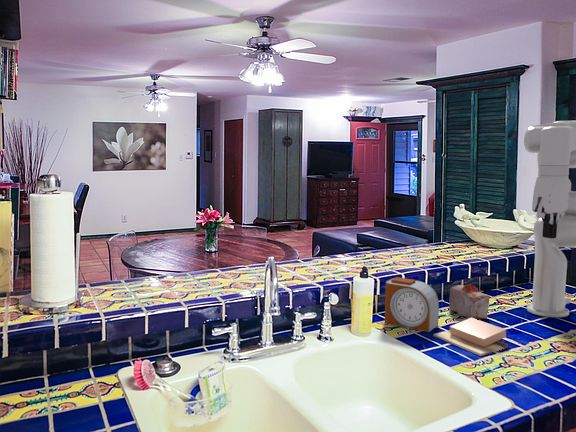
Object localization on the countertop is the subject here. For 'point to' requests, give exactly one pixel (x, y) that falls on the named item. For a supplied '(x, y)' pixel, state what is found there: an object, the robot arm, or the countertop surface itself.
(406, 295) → the alarm clock
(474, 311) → the food item
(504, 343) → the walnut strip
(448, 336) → the tan flat rectangular panel
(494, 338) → the tile
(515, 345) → the countertop surface
